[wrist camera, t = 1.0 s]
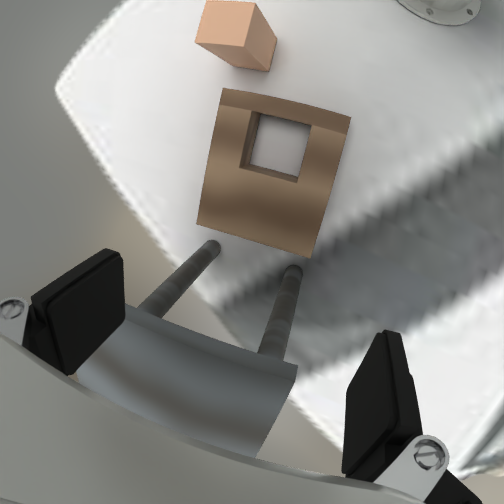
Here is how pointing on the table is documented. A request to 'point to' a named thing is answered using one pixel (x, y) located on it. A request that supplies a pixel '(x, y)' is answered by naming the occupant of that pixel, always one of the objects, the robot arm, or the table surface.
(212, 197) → the socket block
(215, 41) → the peg
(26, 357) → the robot arm
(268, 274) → the table surface
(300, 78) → the table surface
